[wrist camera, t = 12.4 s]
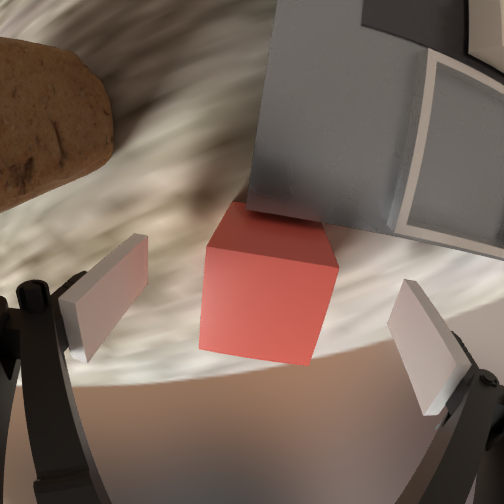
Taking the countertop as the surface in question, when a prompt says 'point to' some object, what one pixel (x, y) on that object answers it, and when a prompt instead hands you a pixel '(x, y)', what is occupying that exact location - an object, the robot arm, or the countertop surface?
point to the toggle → (487, 31)
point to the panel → (382, 123)
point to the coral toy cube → (266, 286)
